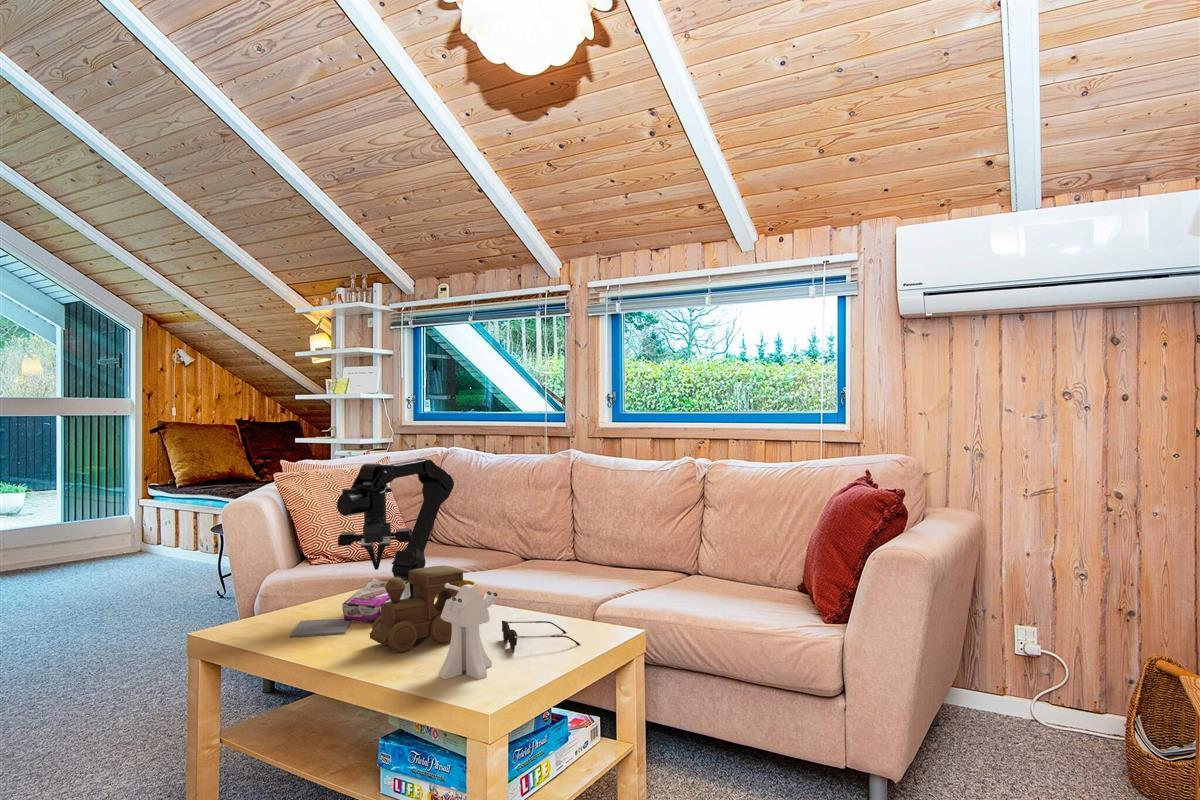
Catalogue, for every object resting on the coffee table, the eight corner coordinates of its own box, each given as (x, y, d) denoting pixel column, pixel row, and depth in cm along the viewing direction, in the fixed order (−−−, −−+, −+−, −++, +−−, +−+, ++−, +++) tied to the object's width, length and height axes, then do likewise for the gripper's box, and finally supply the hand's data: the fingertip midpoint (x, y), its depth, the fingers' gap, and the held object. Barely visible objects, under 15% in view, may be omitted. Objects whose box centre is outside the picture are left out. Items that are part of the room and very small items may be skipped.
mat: (352, 619, 210) (352, 617, 210) (344, 634, 197) (344, 631, 197) (300, 622, 208) (300, 620, 208) (289, 637, 194) (289, 635, 194)
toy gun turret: (470, 657, 176) (469, 575, 176) (506, 671, 166) (505, 584, 167) (422, 670, 168) (421, 584, 168) (458, 685, 158) (457, 593, 159)
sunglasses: (500, 640, 191) (501, 619, 191) (565, 637, 196) (566, 616, 196) (514, 656, 178) (515, 633, 178) (582, 652, 183) (583, 630, 183)
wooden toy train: (443, 630, 199) (442, 563, 199) (466, 640, 190) (465, 570, 190) (366, 646, 186) (365, 574, 186) (387, 657, 177) (386, 582, 178)
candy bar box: (341, 602, 206) (373, 577, 222) (343, 620, 207) (374, 594, 223) (380, 605, 204) (410, 579, 219) (382, 624, 205) (411, 596, 220)
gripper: (334, 517, 203) (336, 578, 203) (409, 513, 207) (411, 573, 207) (339, 511, 214) (341, 569, 214) (411, 507, 217) (413, 564, 218)
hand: (376, 569), depth 213 cm, fingers closed
